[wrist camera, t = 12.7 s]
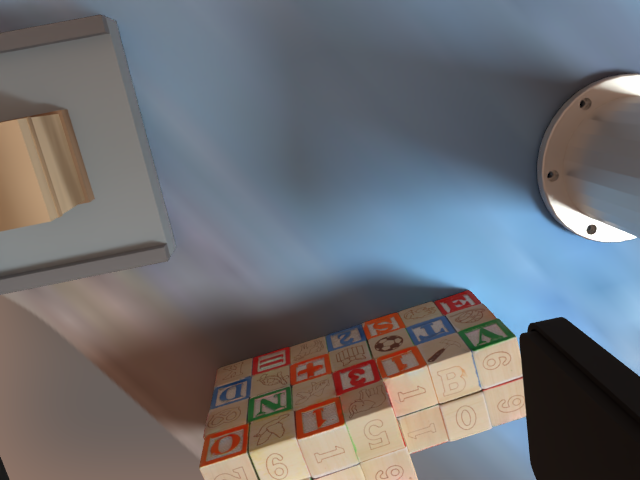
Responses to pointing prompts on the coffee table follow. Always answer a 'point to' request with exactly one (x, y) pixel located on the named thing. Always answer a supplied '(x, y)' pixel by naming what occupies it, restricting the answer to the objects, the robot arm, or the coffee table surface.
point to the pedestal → (40, 170)
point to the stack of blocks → (365, 396)
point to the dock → (84, 156)
